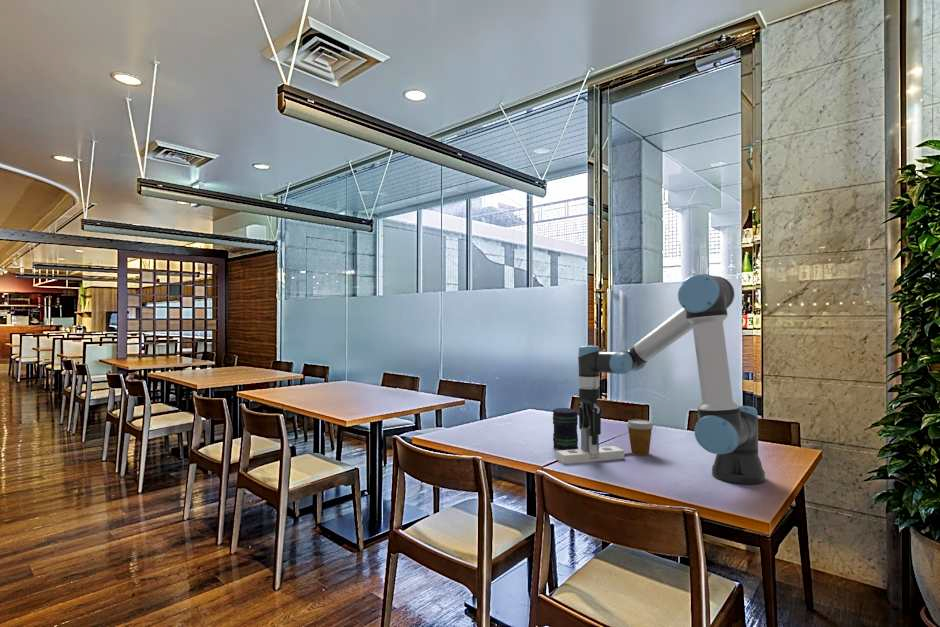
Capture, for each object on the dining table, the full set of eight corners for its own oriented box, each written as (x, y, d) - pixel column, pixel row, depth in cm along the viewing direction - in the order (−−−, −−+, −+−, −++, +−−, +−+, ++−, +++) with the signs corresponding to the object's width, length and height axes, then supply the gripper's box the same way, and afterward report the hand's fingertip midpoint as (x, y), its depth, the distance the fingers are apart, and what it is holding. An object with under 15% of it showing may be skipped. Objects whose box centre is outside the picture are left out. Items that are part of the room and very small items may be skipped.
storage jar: (559, 443, 212) (559, 407, 213) (582, 446, 207) (581, 409, 207) (548, 448, 204) (548, 410, 205) (571, 452, 199) (571, 413, 199)
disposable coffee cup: (650, 450, 200) (649, 419, 200) (656, 456, 190) (655, 424, 191) (625, 450, 201) (624, 419, 201) (629, 456, 191) (629, 423, 192)
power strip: (638, 457, 190) (638, 448, 190) (564, 464, 182) (564, 455, 182) (627, 452, 197) (627, 444, 197) (555, 459, 189) (555, 450, 189)
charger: (598, 455, 187) (598, 427, 187) (586, 456, 186) (586, 428, 186) (593, 453, 191) (593, 425, 191) (581, 454, 190) (580, 426, 190)
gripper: (610, 390, 182) (611, 456, 181) (587, 384, 198) (587, 445, 198) (591, 391, 180) (592, 458, 179) (569, 385, 196) (570, 447, 196)
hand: (590, 451), depth 189 cm, fingers closed on charger, 4 cm apart
